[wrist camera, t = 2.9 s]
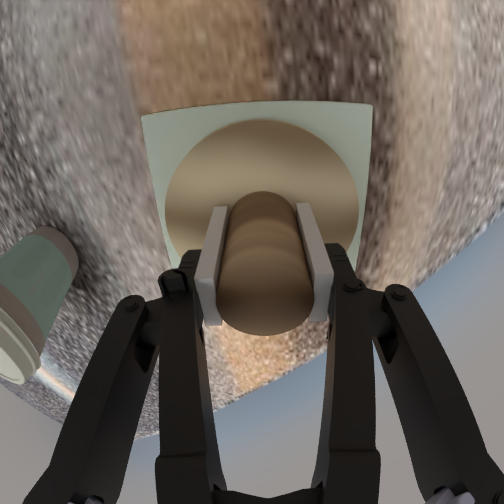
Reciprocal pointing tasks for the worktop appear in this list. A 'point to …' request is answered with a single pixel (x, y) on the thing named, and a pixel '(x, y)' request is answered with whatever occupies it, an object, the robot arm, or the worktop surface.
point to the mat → (296, 112)
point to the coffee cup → (32, 298)
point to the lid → (261, 216)
